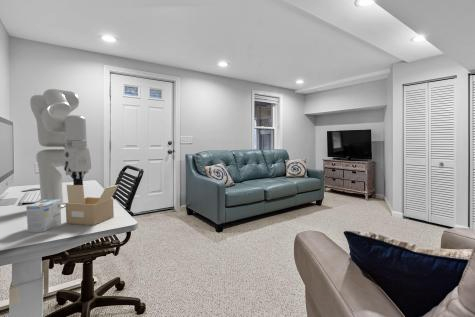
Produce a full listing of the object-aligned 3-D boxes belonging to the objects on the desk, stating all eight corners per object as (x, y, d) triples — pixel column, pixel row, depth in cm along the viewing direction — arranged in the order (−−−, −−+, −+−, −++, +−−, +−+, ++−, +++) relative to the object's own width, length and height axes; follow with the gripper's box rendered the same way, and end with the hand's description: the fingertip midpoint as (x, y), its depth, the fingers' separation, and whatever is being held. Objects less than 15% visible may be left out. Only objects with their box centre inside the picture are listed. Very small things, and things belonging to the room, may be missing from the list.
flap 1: (69, 202, 105) (68, 203, 104) (67, 184, 104) (66, 184, 103) (84, 203, 103) (84, 203, 103) (83, 185, 102) (82, 185, 102)
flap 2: (105, 187, 103) (106, 188, 103) (118, 184, 111) (118, 184, 111) (97, 202, 104) (97, 203, 104) (110, 198, 112) (110, 198, 112)
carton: (65, 223, 106) (64, 203, 105) (88, 215, 118) (87, 196, 118) (94, 225, 103) (93, 204, 102) (114, 216, 115) (113, 198, 115)
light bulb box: (45, 223, 106) (44, 199, 105) (62, 223, 106) (61, 199, 106) (26, 232, 95) (25, 205, 95) (45, 232, 96) (43, 205, 95)
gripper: (68, 145, 95) (70, 191, 96) (97, 144, 110) (98, 184, 111) (52, 145, 97) (55, 190, 98) (82, 144, 111) (84, 184, 112)
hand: (78, 187), depth 104 cm, fingers closed
